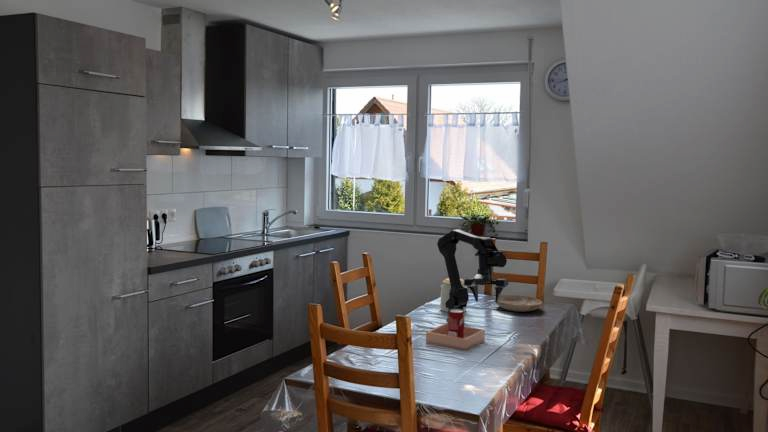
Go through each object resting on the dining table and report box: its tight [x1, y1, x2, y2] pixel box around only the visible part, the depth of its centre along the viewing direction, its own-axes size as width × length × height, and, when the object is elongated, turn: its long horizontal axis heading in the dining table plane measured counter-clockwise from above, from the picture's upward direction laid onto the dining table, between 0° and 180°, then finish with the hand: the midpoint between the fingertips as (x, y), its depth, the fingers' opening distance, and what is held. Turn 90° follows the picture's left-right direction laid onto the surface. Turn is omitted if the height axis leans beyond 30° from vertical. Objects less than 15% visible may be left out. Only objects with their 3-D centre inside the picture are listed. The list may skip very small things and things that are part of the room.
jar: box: [439, 277, 468, 313], centre depth 337 cm, size 13×13×18 cm
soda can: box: [447, 309, 465, 338], centre depth 283 cm, size 7×7×12 cm
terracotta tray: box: [425, 322, 486, 352], centre depth 283 cm, size 18×18×4 cm
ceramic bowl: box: [494, 294, 543, 313], centre depth 343 cm, size 23×24×5 cm
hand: (486, 302), depth 300 cm, fingers open, 9 cm apart
